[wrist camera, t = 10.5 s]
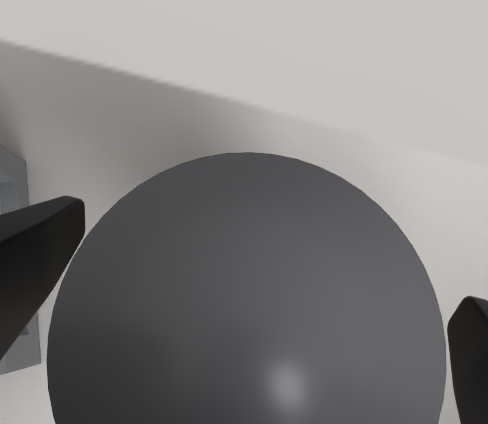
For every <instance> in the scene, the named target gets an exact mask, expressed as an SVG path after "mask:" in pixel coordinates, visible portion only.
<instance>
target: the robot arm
mask: <svg viewBox="0 0 488 424" xmlns="http://www.w3.org/2000/svg"><path fill="white" fill-rule="evenodd" d="M84 233H85V206H84V202H83V201H82V200H81V199H78V198H74V197H70V196H62V197H58V198H55V199H52V200H48V201H45V202H41V203H38V204H35V205H31V206H28V207H24V208H21V209H18V210H14V211H11V212H7V213H4V214H1V215H0V361H1V359H2V358H3V357H4V355H5V354H6V353H7V351H8V350H9V349H10V347H11V346H12V344H13V343H14V342H15V340H16V339H17V338H18V336H19V335H20V334H21V332H22V331H23V330H24V328H25V327H26V326H27V324H28V323H29V321H30V320H31V319H32V317H33V316H34V315H35V313H36V312H37V311H38V309H39V308H40V307H41V305H42V304H43V303H44V301H45V300H46V298H47V297H48V296H49V294H50V293H51V291H52V290H53V288H54V287H55V285H56V284H57V282H58V280H59V279H60V277H61V275H62V273H63V272H64V270H65V268H66V266H67V265H68V263H69V261H70V259H71V258H72V256H73V254H74V252H75V251H76V249H77V247H78V245H79V244H80V242H81V240H82V238H83V236H84ZM447 333H448V342H449V352H450V361H451V371H452V380H453V388H454V394H455V399H456V404H457V409H458V413H459V418H460V422H461V424H488V301H487V300H485V299H481V298H477V297H473V296H467V297H465V298H464V299H463V300H462V301H461V303H460V304H459V306H458V308H457V309H456V311H455V312H454V314H453V315H452V317H451V318H450V320H449V322H448V326H447Z"/></svg>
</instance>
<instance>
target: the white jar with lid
mask: <svg viewBox="0 0 488 424" xmlns="http://www.w3.org/2000/svg"><path fill="white" fill-rule="evenodd" d="M47 376H48V391H49V396H50V401H51V406H52V412H53V417H54V420H55V423H56V424H438V421H439V416H440V412H441V408H442V404H443V399H444V390H445V380H446V343H445V336H444V329H443V322H442V316H441V313H440V309H439V306H438V302H437V298H436V295H435V291H434V289H433V286H432V284H431V281H430V279H429V277H428V274H427V272H426V269H425V267H424V265H423V263H422V262H421V260H420V258H419V256H418V255H417V253H416V251H415V249H414V247H413V246H412V244H411V243H410V241H409V240H408V239H407V237H406V236H405V235H404V233H403V232H402V230H401V229H400V228H399V226H398V225H397V224H396V223H395V222H394V221H393V220H392V218H391V217H390V216H389V215H388V214H387V213H386V212H385V211H384V210H383V209H382V208H381V207H380V206H379V205H378V204H377V203H376V202H374V201H373V200H372V199H371V198H370V197H368V196H367V195H366V194H365V193H364V192H362V191H361V190H360V189H358V188H357V187H355V186H354V185H352V184H350V183H349V182H347V181H346V180H344V179H343V178H341V177H339V176H337V175H335V174H333V173H331V172H329V171H327V170H325V169H323V168H321V167H318V166H315V165H313V164H310V163H307V162H304V161H301V160H298V159H294V158H289V157H284V156H279V155H275V154H264V153H252V152H246V153H226V154H220V155H214V156H207V157H202V158H199V159H196V160H192V161H189V162H185V163H182V164H179V165H177V166H175V167H173V168H170V169H168V170H166V171H163V172H161V173H159V174H157V175H155V176H154V177H152V178H150V179H149V180H147V181H145V182H144V183H142V184H140V185H138V186H137V187H136V188H135V189H133V190H132V191H131V192H129V193H128V194H127V195H125V196H124V197H123V198H122V199H120V200H119V201H118V202H117V203H116V204H115V205H114V206H113V207H112V208H111V209H110V210H109V211H108V212H107V213H106V214H105V215H104V216H103V217H102V218H101V219H100V220H99V221H98V223H97V224H96V225H95V226H94V228H93V229H92V230H91V231H90V233H89V234H88V235H87V236H86V238H85V239H84V241H83V243H82V244H81V246H80V248H79V249H78V251H77V252H76V254H75V256H74V257H73V259H72V261H71V263H70V265H69V267H68V270H67V272H66V274H65V276H64V278H63V281H62V283H61V286H60V289H59V292H58V295H57V298H56V301H55V305H54V308H53V313H52V318H51V323H50V329H49V334H48V348H47Z"/></svg>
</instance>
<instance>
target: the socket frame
mask: <svg viewBox="0 0 488 424" xmlns="http://www.w3.org/2000/svg"><path fill="white" fill-rule="evenodd" d="M28 206H29V202H28V190H27V177H26V164H25V161H23V160H22V159H20V158H19V157H17V156H16V155H15V154H13V153H12V152H10V151H9V150H7V149H6V148H4V147H3V146H1V145H0V212H1V214H4V213H7V212H11V211H14V210H18V209H21V208H24V207H28ZM40 363H41V357H40V344H39V331H38V318H37V312H36V313H35V315H34V316H33V317H32V319H31V320H30V321H29V323H28V324H27V326H26V327H25V328H24V330H23V331H22V332H21V334H20V335H19V336H18V338H17V339H16V340H15V342H14V343H13V344H12V346H11V347H10V349H9V350H8V351H7V353H6V354H5V355H4V357H3V358H2V359H1V361H0V374H5V373H9V372H13V371H16V370H20V369H23V368H26V367H30V366H33V365H37V364H40Z"/></svg>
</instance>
